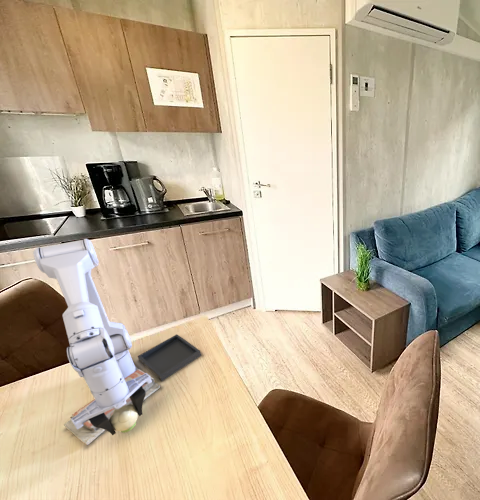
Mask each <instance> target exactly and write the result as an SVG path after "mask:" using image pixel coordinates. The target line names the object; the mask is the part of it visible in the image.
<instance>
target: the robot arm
mask: <svg viewBox="0 0 480 500" xmlns="http://www.w3.org/2000/svg"><path fill="white" fill-rule="evenodd" d="M32 252H33V253H32V255H33V258H34V261H35V264H36V266H37V268H38V269H39V271H40V272H41V273H43V274H45V275H46V276H47V277H48V278H49V279H54V280H57V283H58V285H59V288H60V290H61V292H62V296H63V298H64V301H65V303H66V305H67V308H66V309H65V311H64V312H63V313H62V319H63V323H64V327H65V331H66V335H67V339H68V343H69V346H67V347H66V356H67V360H68V361H69V364H70V366H71V367H72V369H73V370H74V371H75V372H76V373H77V374H78V376H79V378H83V380H84V382H85V384H86V385H87V387H88V389H89V392H90V394H91V395H92V397H93V400H94V399H95V400H94V401H93V400H92V401H93V402H92V403H91V404H90V405H88V406H87V407H86V408H85V409H84V410H82V411H81V412H80V413H79V414H77V415H76V416H74V417H73V418H70V420H71V421H72V422H73V424H74V426H75V427H76V429H77V430H78V429H79V428H81V427H82V426H83V423H85V422H87V421H88V420H89V421H90V422H91V424H92V425H93V426H94V427H96V428H102V429H105V431H107V432H108V433H110V435H111V436H114V435H116V434H117V431H116V430H114V429H113V427H112V426H111V424H110V422H109V419H108V418H107V416H106V415H105V413H104V412H106V411H108V410H111V409H113V408H115V409H119V408H121V407H122V406H124V405H125V404H126V400H127V399H128V398H129V397H130V399H131V401H132V404H133V405H134V406H135V408H136V410H137V412H138V417H142V415H143V405H144V404H143V403H144V401H145V400H144V397H145V395H146V392H145V390H144V389H143V387H142V386H143V385H145V384H149V383H151V382H152V380H151V378H150V376H151V375H150V374H149V373H147V372H144V373H145V374H143V375H141V376H139V377H137V378H135V379H132V380H130V381H127V382H125V378H126V377H128V376H129V375H131V374H132V373H134V372H135V371H137V370H138V369H139V368H138V367H137V366H136V365H135V363H134V361H133V358H132V356H131V353H130V351H129V350H131V349H132V348H133V344H132V340H131V337H130V334H129V331H128V329H127V328H126V326H125V324H123V322H116V321H110V319H109V317H108V314H107V312H106V309H105V308H104V307H105V306H104V305H103V302H102V300H101V299H102V298H101V297H100V294H99V292H98V289H97V287H96V284H95V282H94V280H93V277H92V270H93V269H94V268H96V267H98V266H99V263H100V262H99V259H98V256H97V253H96V250H95V247H94V245H93V242H92V240H90V239H88V238H83V239H79V240H75V241H68V242H64V243H58V244H52V245H46V246H41V247H40V246H38V247H35V249H34V250H33V251H32ZM149 375H150V376H149ZM143 400H144V401H143Z"/></svg>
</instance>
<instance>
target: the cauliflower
mask: <svg viewBox="0 0 480 500" xmlns="http://www.w3.org/2000/svg"><path fill="white" fill-rule="evenodd" d="M138 417H139V415H138V412H137V410H136V408H135V406H134V405H132V404H128V405H125V406H122V407H121V408H119V409H115V410H114V412H113V414H112V415H111V416H110V419H109V422H110V424H111V426H112V427H113V429H114V430H115V432H120V433H123V434H124V433H128V432H130V431H132V430H133V429H134V428H135V427H136V425H137V420H138Z"/></svg>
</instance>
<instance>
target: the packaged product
mask: <svg viewBox="0 0 480 500" xmlns="http://www.w3.org/2000/svg"><path fill="white" fill-rule="evenodd" d="M145 373H146V372H144V371H143V370H142V369H140V368H138V370H137V371H135V372H134V373H132V374H131V375H129V376H128V377H126V378H125V382H127V381H130V380H132V379H135V378H137V377H139V376H141V375H143V374H145ZM148 375H149V376H150V378H151V380H152V382H151V383H149V384H145V385H143V386H142V387H143V389H144V390H145V392H146V395H145V397H144V400H143V402H144V401H145V400H146V399H148V397H150V396H151V395H152V394H154V393H155V392H157V391H158V390H160V388H161V384H159V383H158V382H157V383H156V382H155V378H153V377H152V375H150V374H148ZM94 400H95V399H94V398H93V400H91V401H90V402H88V403H86V404H85V405H84V406H83V407H80V408H79V409H78V410H76V411H74V413H72V414H71V415H70V420H68V421H67V422H65V423H63V426H64V427H65V428H66V430H68V431H69V432H70V433H72V434H73V435H74V437H76V438H77V440H79V441H80V442H81V443H83V444H85V445H86V446H89V445H90V444H91V443H92V442H93V441H94V440H96V438H98V437H99V436H100V435H101V434H102V433H104V432H105V431H106V430H105V429H102V428H96V427H94V426H93V425H92V424H91V422H90V421H89V420H88V421H87V422H85V423H83V426H82V427H81V428H79V429H78V430H77V429H76V427H75V426H74V424H73V422H72V421H71V418H73V417H74V416H76V415H77V414H79V413H80V412H81V411H82V410H84V409H85V408H86V407H87V406H88V405H90V404H91V403H92V402H93V401H94ZM128 404H132V401H131V399H130V397H129V398H128V399H127V400H126V404H125V405H128ZM125 405H124V406H125ZM132 405H133V404H132ZM114 410H115V408H113V409H111V410H108V411H106V412H104V413H105V415H106V416H107V418H108V419H110V416H111V415H112V414H113V412H114Z"/></svg>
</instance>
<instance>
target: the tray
mask: <svg viewBox="0 0 480 500" xmlns="http://www.w3.org/2000/svg"><path fill="white" fill-rule="evenodd" d="M201 356H202V352H201V350H200V349H199V348H197V347H196V346H194V345H193V344H192V343H190V342H188V341H187V340H186V339H184V338H183V337H182V336H180V335H179V334H175V335H173V336H170V337H169V338H167V339H166V340H164V341H162V342H160V343H158V344H157V345H155V346H153V347H151V348H150V349H148V350H145V351H144V352H143V353H140V354H138V355H137V358H138V361H139V362H140V363H141V364H142V365H143V366H144V367H146V369H148V371H150V372H151V373H152V375H154V376H155V377H156V378H157V379H158V380H159V381H160V382H164V381H165V380H166V379H169V377H171V376H172V375H174V374H175V373H177V372H178V371H180V370H182V369H183V368H184V367H186V366H187V365H189V364H191V363H192V362H195V360H197V359H198V358H200V357H201Z"/></svg>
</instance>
